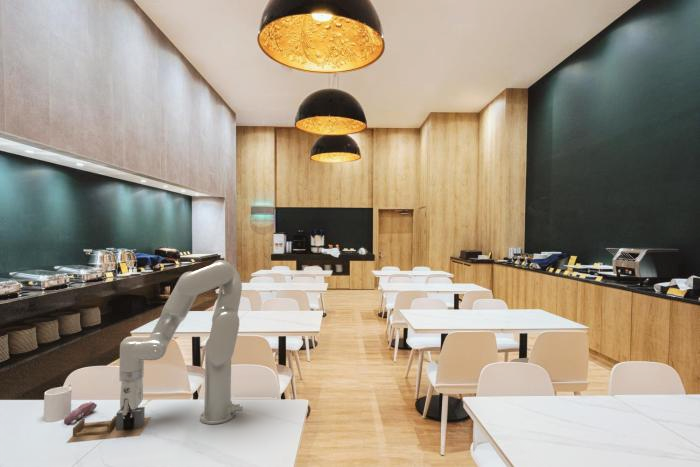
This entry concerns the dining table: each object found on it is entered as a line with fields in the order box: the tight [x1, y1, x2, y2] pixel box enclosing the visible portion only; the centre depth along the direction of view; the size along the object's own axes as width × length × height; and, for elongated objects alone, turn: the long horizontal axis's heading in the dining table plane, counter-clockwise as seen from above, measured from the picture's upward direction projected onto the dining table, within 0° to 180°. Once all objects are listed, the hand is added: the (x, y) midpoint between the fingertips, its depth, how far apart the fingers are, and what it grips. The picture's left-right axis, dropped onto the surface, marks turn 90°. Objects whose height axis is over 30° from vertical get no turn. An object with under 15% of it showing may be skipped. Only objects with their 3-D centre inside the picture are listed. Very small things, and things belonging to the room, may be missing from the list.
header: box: [65, 415, 152, 444], centre depth 134 cm, size 22×14×4 cm, turn 103°
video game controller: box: [63, 401, 97, 425], centre depth 143 cm, size 10×5×7 cm, turn 169°
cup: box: [43, 383, 73, 423], centre depth 147 cm, size 8×12×10 cm
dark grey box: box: [115, 406, 146, 431], centre depth 135 cm, size 8×4×6 cm, turn 103°
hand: (130, 425), depth 135 cm, fingers closed on dark grey box, 3 cm apart
